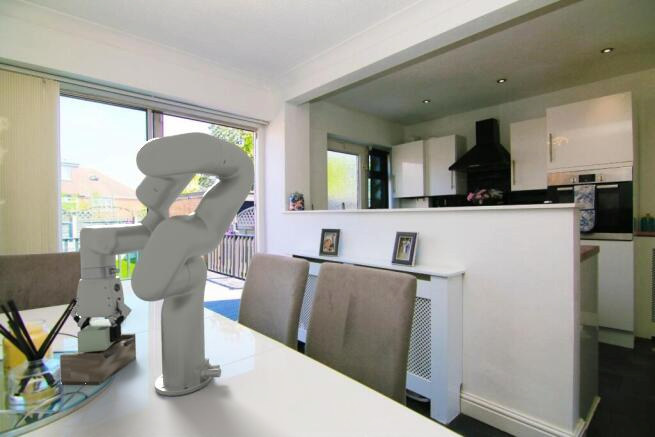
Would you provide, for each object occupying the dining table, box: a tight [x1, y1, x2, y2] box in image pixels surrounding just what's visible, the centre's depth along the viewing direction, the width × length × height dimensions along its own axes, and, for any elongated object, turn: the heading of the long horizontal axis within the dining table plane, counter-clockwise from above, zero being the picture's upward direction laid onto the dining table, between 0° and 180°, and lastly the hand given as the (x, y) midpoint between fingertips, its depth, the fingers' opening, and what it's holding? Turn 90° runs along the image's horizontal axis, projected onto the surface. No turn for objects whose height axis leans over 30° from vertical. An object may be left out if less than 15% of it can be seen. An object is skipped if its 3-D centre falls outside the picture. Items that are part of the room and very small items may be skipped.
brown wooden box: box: [59, 333, 137, 386], centre depth 84 cm, size 14×11×7 cm
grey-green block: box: [76, 318, 116, 353], centre depth 84 cm, size 10×6×5 cm, turn 13°
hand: (101, 339), depth 84 cm, fingers closed on grey-green block, 7 cm apart
